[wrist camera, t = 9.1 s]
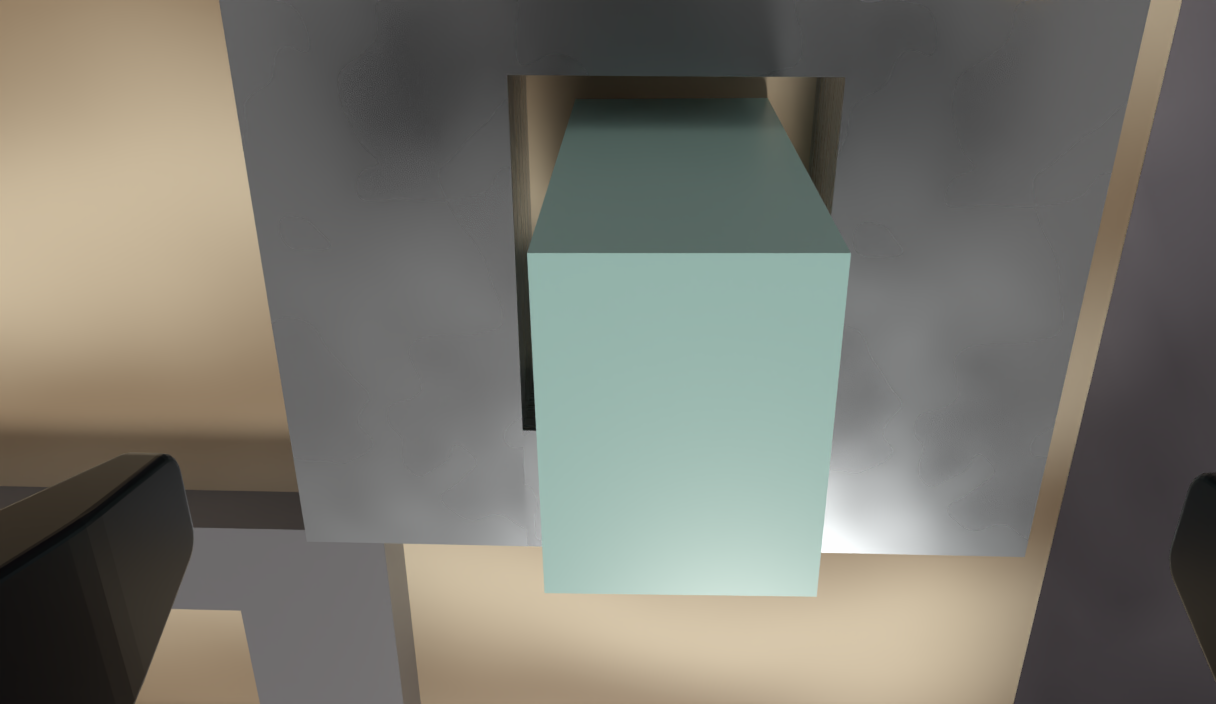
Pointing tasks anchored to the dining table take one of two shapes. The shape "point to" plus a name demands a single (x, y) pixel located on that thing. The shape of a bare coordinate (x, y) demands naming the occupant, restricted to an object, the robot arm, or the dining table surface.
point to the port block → (501, 234)
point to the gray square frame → (299, 599)
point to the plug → (684, 352)
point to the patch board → (257, 423)
